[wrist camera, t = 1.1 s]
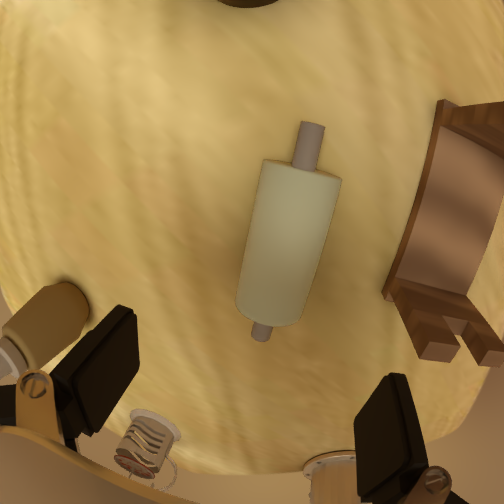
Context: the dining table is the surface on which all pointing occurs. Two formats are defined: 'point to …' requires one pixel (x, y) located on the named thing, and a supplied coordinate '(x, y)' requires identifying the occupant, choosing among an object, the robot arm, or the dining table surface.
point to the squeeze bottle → (42, 329)
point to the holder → (451, 235)
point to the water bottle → (247, 3)
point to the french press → (159, 440)
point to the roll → (286, 235)
